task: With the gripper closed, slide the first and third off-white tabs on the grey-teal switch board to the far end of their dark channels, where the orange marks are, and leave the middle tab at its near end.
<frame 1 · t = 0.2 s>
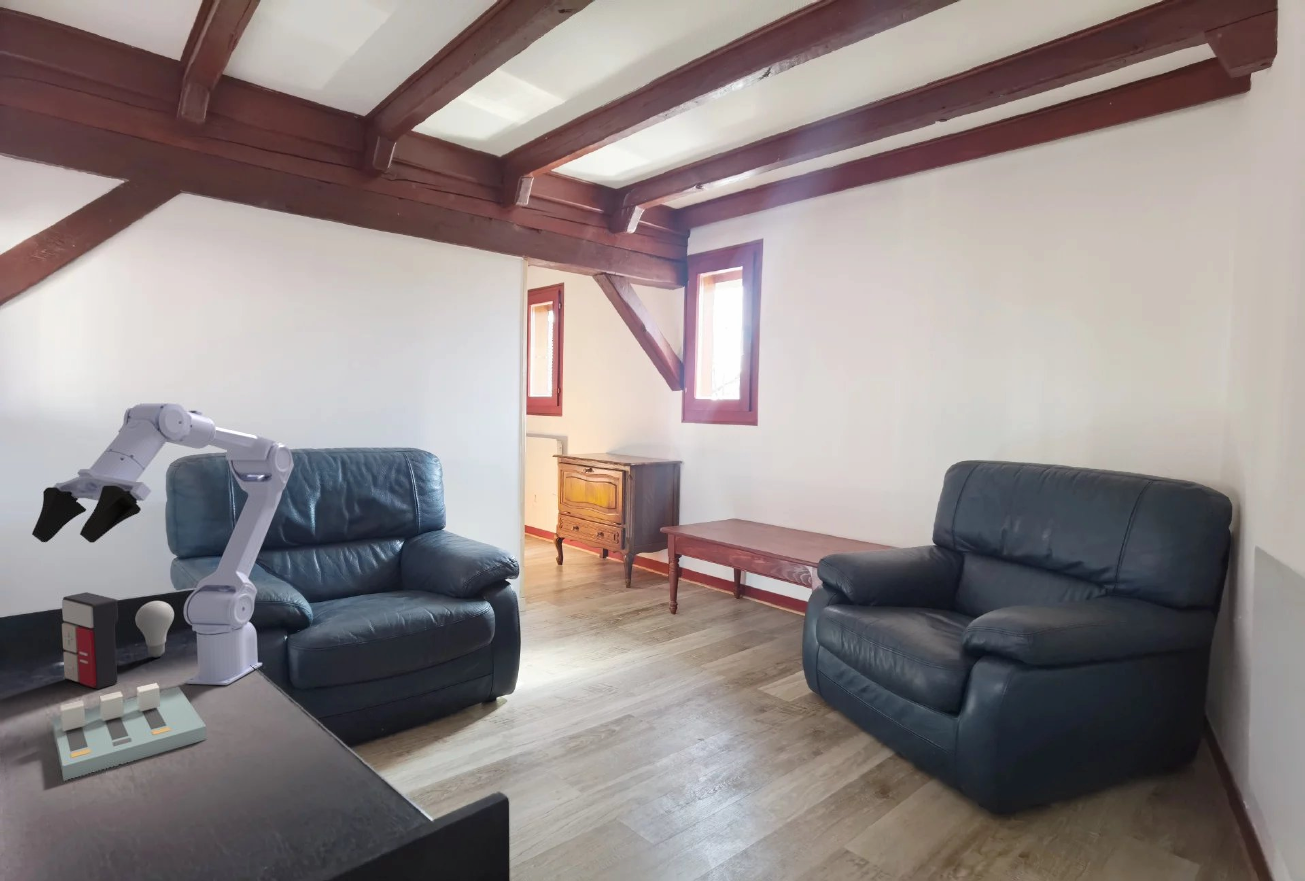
hand: (62, 538, 96), 31 cm above the table, tool tilted 45°, fingers open, 7 cm apart
tab 1: (72, 715, 101), point 4 cm above the table, slide at 0.0 cm
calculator: (91, 682, 124), on the table
tab 3: (148, 697, 107), point 4 cm above the table, slide at 0.0 cm
tab 2: (111, 705, 104), point 4 cm above the table, slide at 0.0 cm
switch board: (128, 734, 103), on the table
lightbulb: (156, 658, 135), on the table
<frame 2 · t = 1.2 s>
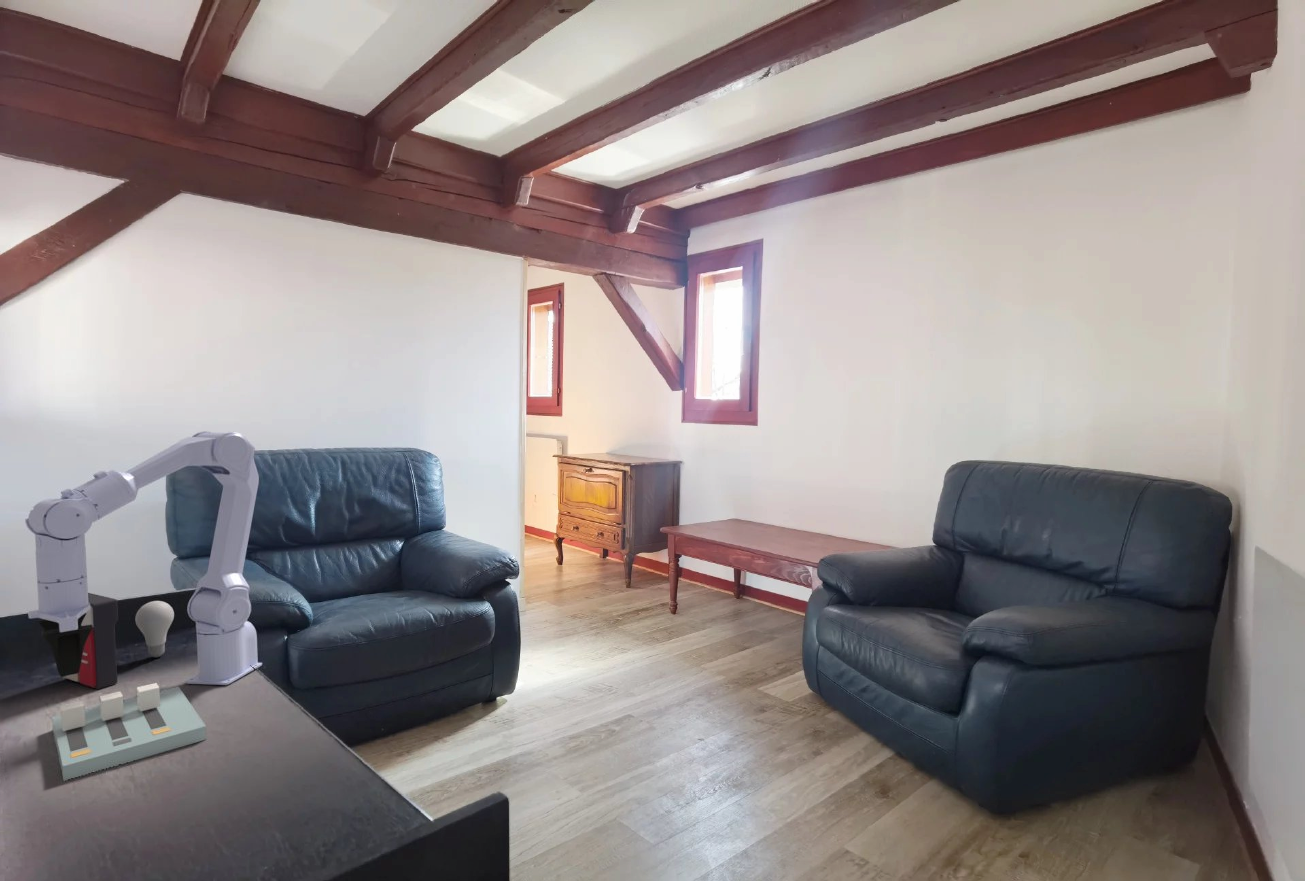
hand: (67, 667, 105), 9 cm above the table, tool pointing down, fingers open, 7 cm apart
nothing on the table moved.
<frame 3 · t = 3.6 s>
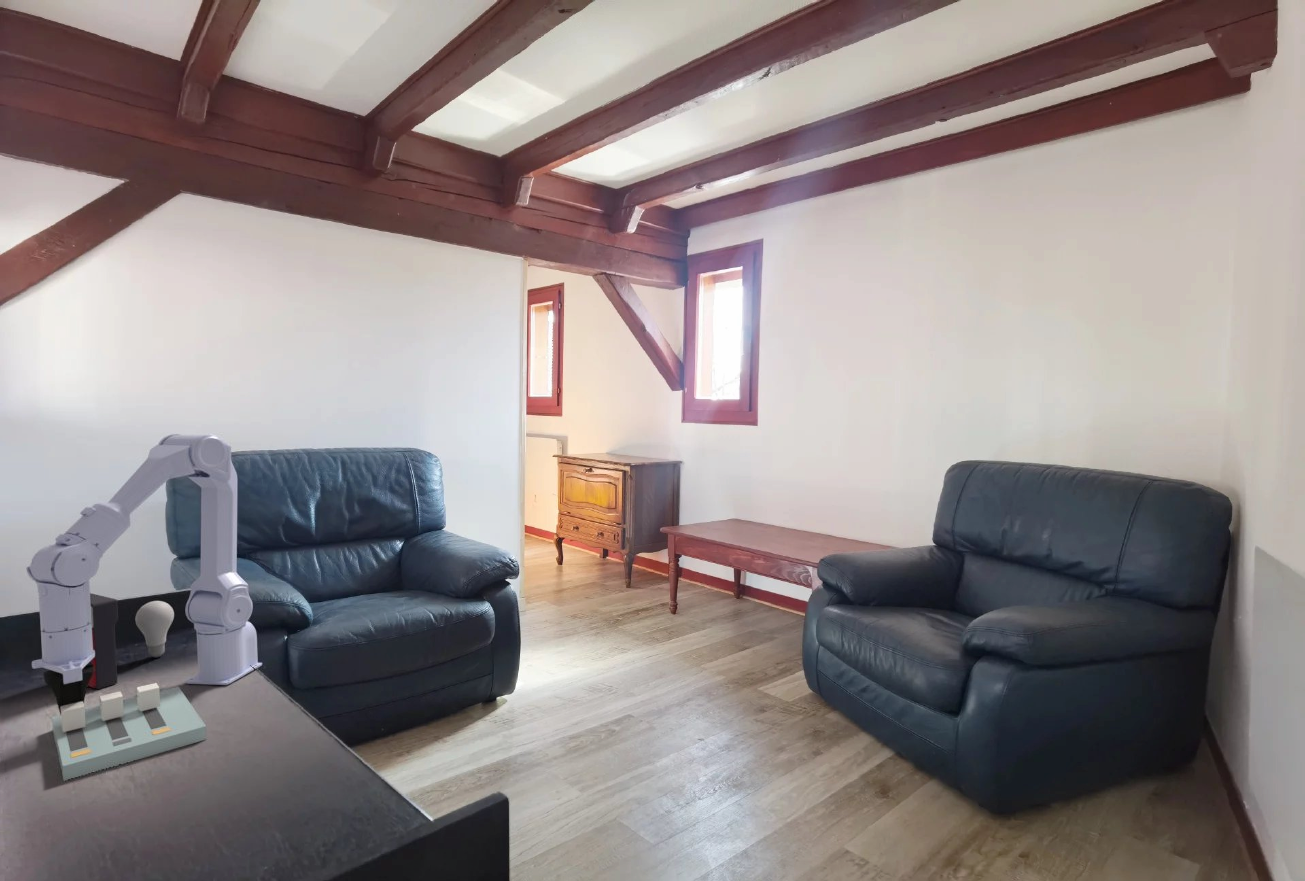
hand: (71, 716, 103), 3 cm above the table, tool pointing down, fingers closed
tab 1: (73, 716, 101), point 4 cm above the table, slide at 0.4 cm, touching gripper
everything else where it was.
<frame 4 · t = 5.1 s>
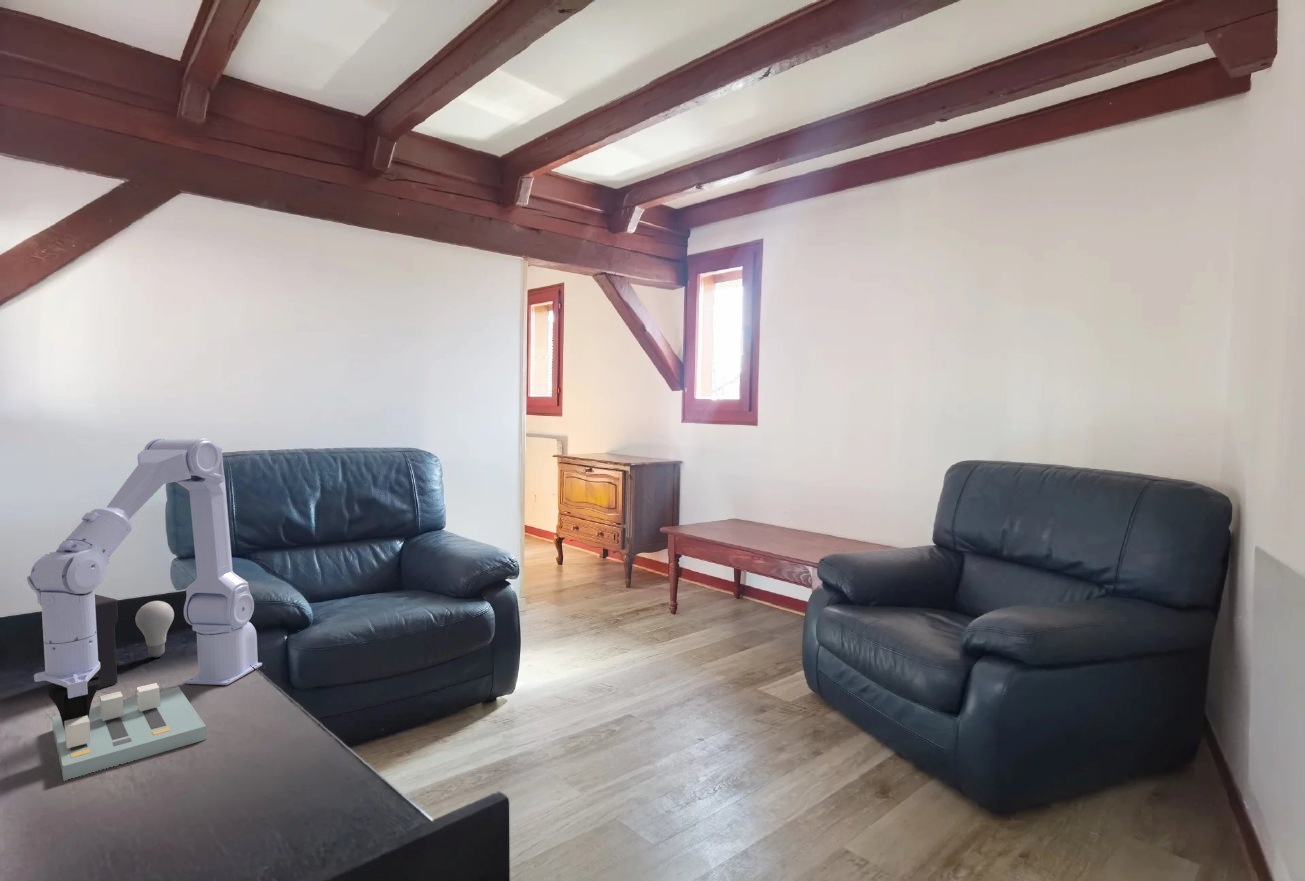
hand: (75, 731, 98), 3 cm above the table, tool pointing down, fingers closed
tab 1: (77, 731, 96), point 4 cm above the table, slide at 7.0 cm, touching gripper
everything else where it was.
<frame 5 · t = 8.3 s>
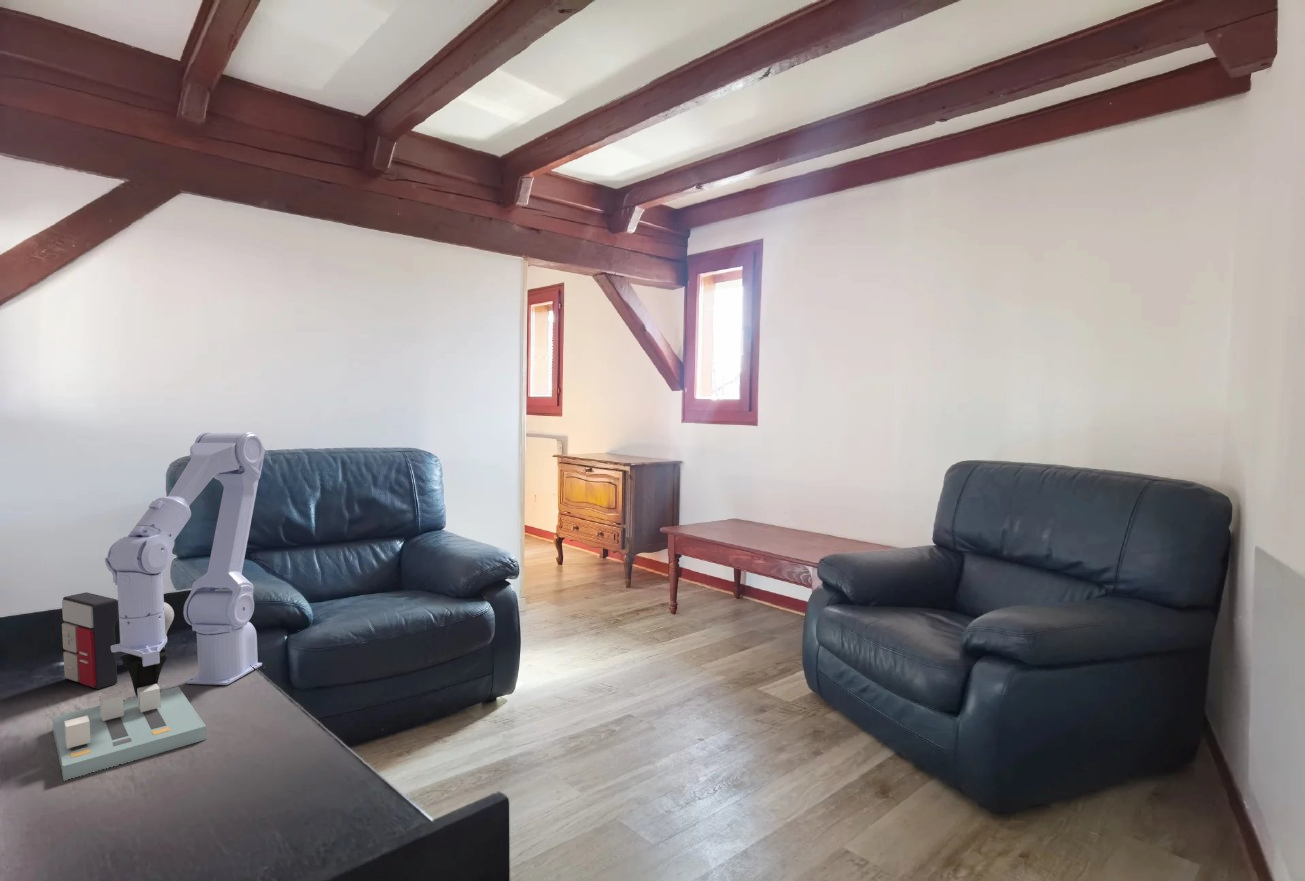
hand: (146, 698, 109), 3 cm above the table, tool pointing down, fingers closed
tab 1: (77, 731, 96), point 4 cm above the table, slide at 7.1 cm
tab 3: (148, 697, 107), point 4 cm above the table, slide at 0.5 cm, touching gripper
everything else where it was.
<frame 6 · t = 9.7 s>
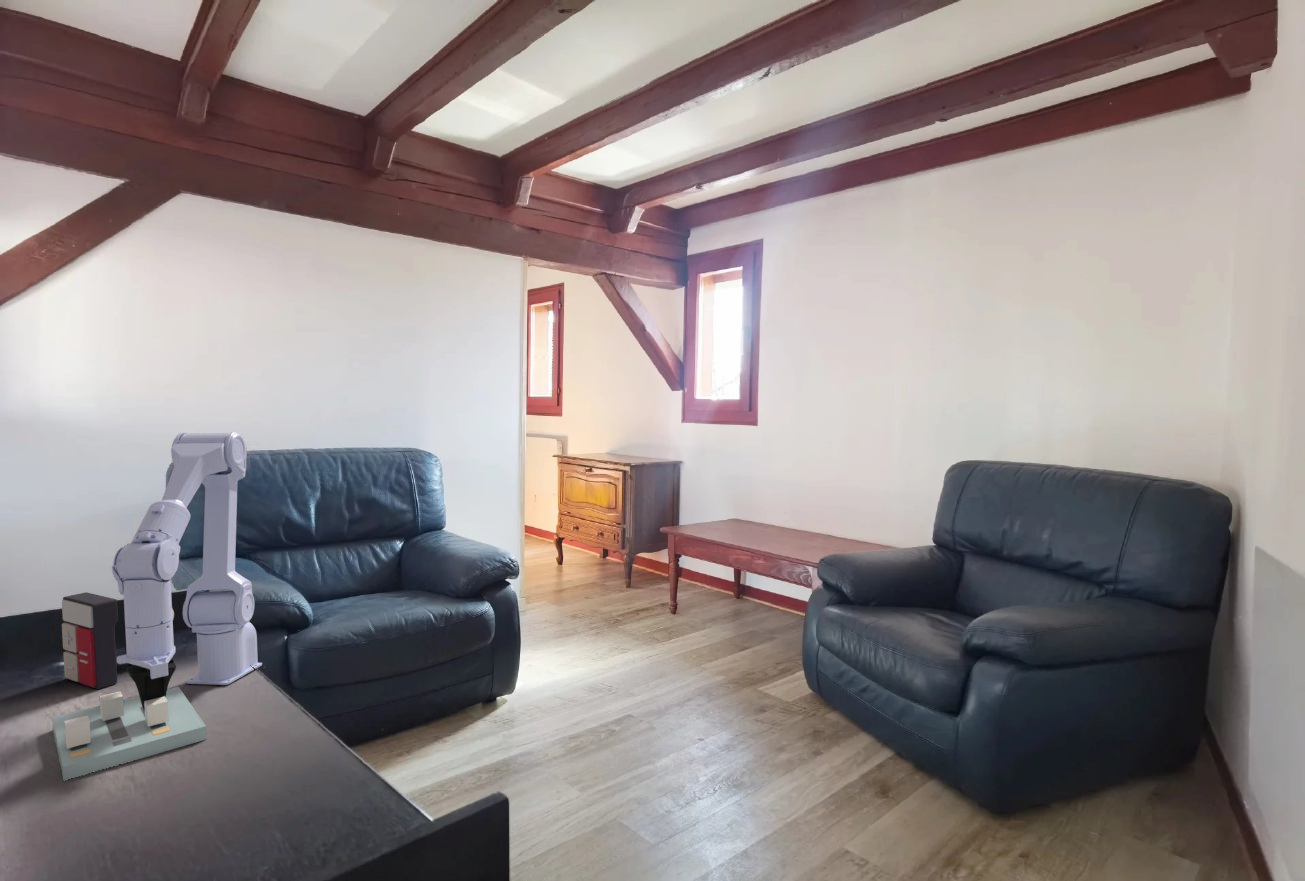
hand: (153, 711, 104), 3 cm above the table, tool pointing down, fingers closed
tab 3: (156, 711, 102), point 4 cm above the table, slide at 7.0 cm, touching gripper
everything else where it was.
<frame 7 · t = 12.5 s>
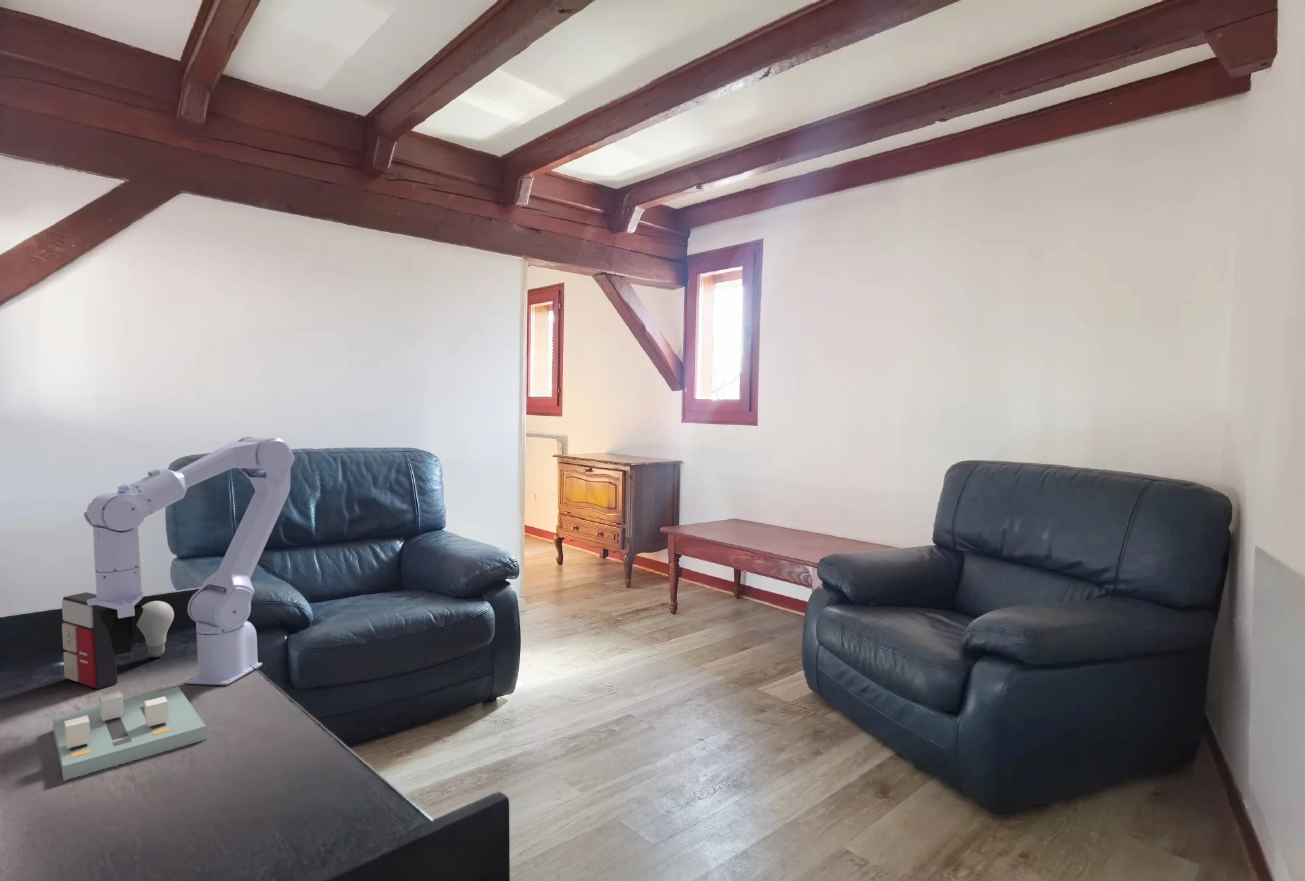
hand: (122, 652, 112), 9 cm above the table, tool pointing down, fingers closed
tab 3: (156, 711, 102), point 4 cm above the table, slide at 7.1 cm
everything else where it was.
at the end: tab 1 slide at 7.1 cm; tab 3 slide at 7.1 cm; tab 2 slide at 0.0 cm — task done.
